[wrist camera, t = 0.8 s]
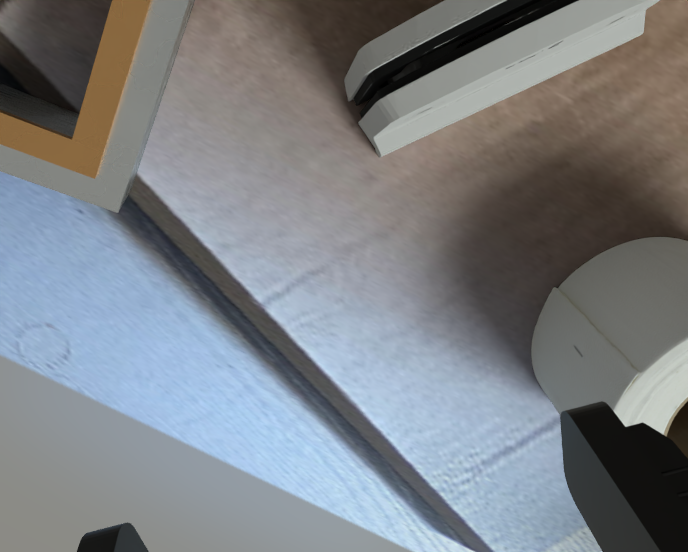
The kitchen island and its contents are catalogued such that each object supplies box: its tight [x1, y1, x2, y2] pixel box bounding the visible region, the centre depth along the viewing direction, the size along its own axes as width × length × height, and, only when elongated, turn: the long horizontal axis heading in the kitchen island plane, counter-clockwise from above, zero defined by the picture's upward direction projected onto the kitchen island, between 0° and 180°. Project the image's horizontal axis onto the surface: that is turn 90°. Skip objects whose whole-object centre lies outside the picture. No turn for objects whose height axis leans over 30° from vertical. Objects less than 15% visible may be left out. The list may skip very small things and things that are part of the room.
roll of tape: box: [531, 237, 688, 458], centre depth 40 cm, size 16×15×11 cm
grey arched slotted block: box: [344, 0, 660, 157], centre depth 31 cm, size 17×5×10 cm, turn 114°
